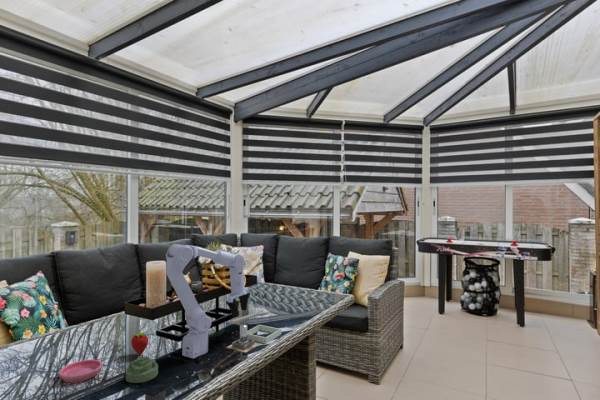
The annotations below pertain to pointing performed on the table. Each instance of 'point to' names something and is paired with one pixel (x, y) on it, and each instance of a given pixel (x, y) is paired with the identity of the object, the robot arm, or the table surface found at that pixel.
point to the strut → (243, 335)
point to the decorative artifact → (141, 370)
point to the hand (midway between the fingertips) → (239, 313)
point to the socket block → (243, 346)
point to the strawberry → (139, 342)
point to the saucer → (80, 370)
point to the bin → (274, 331)
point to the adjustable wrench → (249, 316)
